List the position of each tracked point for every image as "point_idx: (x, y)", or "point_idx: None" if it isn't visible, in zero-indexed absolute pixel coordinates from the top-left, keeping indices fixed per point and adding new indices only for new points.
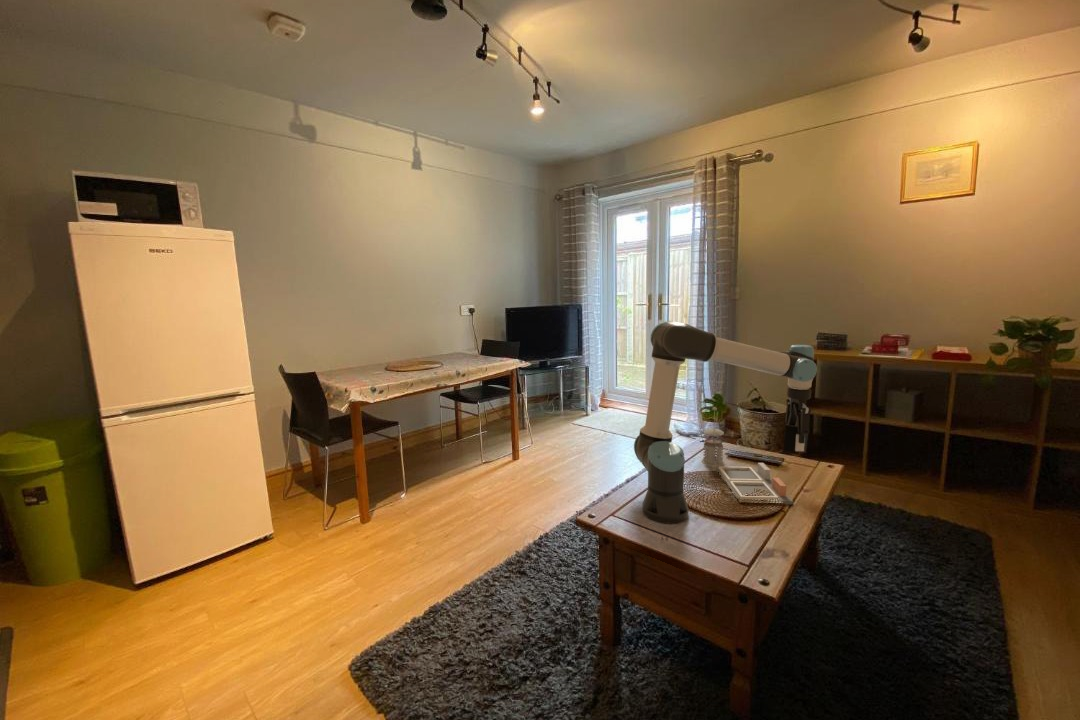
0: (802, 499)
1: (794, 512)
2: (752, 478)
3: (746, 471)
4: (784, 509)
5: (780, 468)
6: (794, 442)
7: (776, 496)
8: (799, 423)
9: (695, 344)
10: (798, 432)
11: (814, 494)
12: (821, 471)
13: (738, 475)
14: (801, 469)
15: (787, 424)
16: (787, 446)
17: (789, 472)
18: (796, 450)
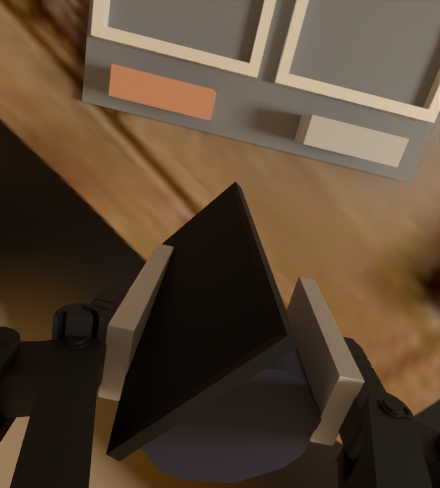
0: (127, 170)
1: (23, 59)
2: (327, 60)
3: (410, 82)
4: (47, 32)
5: (398, 276)
6: (177, 275)
7: (98, 30)
8: (16, 486)
9: None
10: (67, 340)
11: (161, 242)
12: None
13: (384, 2)
14: (361, 340)
15: (406, 421)
16: (216, 220)
17: (353, 283)
18: (155, 248)
